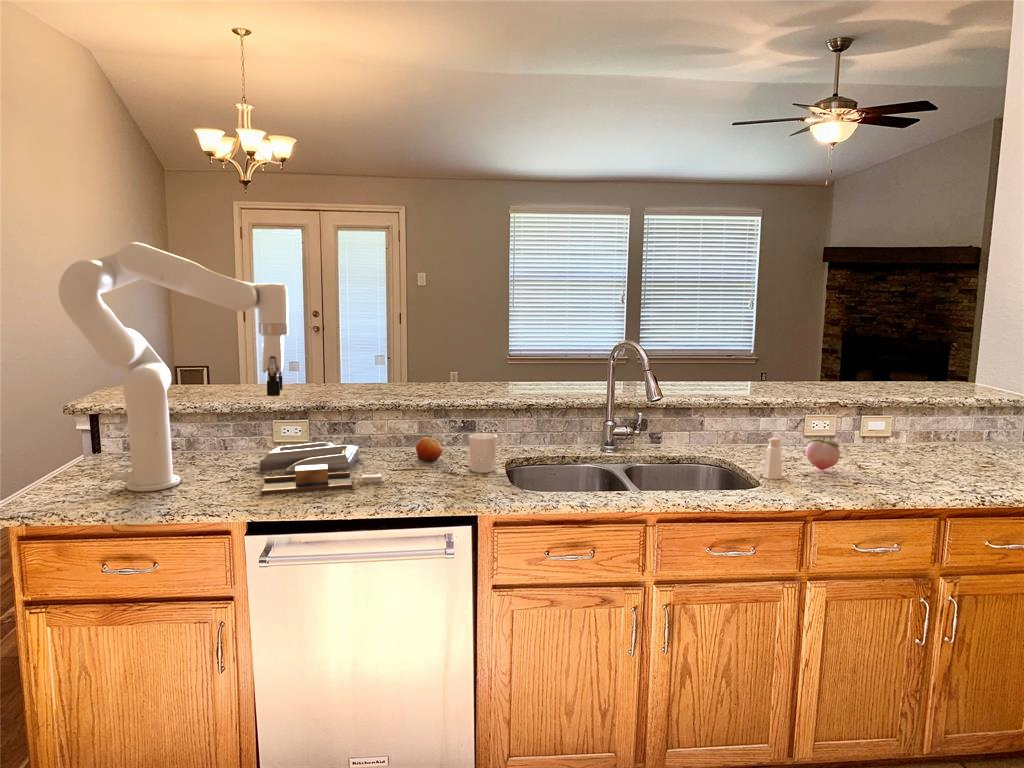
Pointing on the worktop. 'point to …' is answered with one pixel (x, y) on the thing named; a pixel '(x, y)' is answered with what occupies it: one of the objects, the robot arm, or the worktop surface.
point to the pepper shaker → (773, 460)
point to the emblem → (310, 457)
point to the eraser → (311, 475)
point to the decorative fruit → (822, 453)
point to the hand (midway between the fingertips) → (275, 392)
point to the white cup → (482, 452)
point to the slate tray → (289, 486)
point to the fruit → (428, 449)
